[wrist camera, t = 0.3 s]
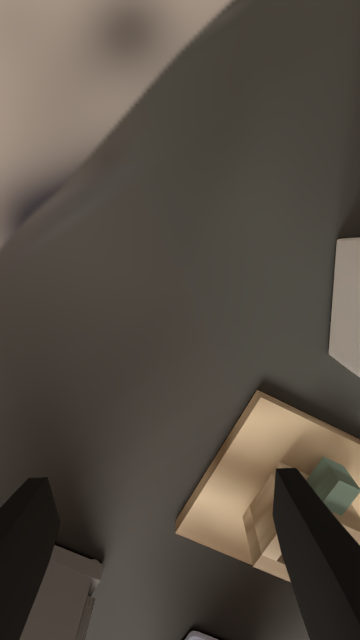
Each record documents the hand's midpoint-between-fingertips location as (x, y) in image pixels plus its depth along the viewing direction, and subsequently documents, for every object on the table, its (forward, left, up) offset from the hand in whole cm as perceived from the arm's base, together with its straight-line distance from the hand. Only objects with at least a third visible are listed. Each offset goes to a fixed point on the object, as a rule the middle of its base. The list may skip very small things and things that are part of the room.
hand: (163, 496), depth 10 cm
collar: (-5, -12, -9) cm, 16 cm away
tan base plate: (-5, -12, -10) cm, 16 cm away
